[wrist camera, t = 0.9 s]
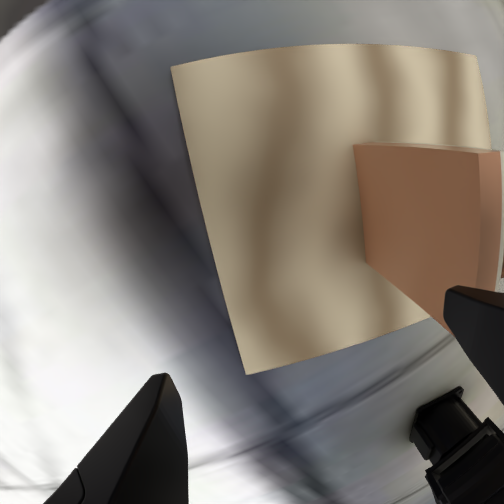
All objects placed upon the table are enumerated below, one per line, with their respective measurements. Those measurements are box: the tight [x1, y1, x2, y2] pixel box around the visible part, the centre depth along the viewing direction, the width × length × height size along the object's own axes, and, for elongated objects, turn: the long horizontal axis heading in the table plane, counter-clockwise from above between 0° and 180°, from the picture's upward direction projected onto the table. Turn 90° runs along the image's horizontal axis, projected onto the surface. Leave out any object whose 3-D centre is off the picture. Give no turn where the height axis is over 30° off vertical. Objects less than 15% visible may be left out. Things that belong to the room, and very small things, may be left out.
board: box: [171, 44, 491, 375], centre depth 19 cm, size 22×20×1 cm
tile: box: [353, 142, 504, 337], centre depth 14 cm, size 2×8×10 cm, turn 11°
